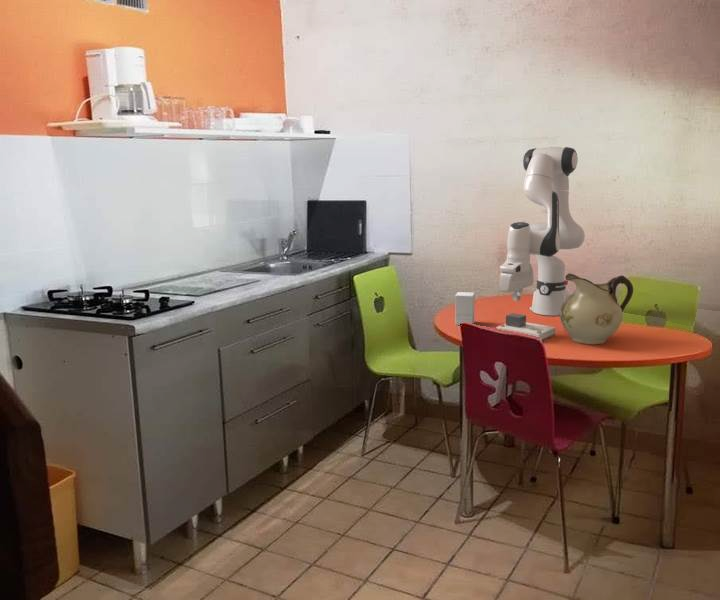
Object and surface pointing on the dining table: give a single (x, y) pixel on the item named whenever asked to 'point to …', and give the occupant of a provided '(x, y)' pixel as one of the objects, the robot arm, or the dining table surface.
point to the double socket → (532, 330)
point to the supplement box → (464, 307)
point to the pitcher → (593, 309)
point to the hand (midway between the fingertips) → (516, 300)
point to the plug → (515, 320)
